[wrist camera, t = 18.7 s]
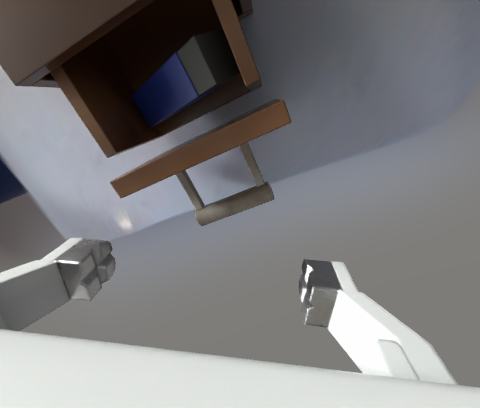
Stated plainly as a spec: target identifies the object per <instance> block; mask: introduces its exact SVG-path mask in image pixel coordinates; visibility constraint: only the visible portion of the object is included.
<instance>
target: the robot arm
mask: <svg viewBox="0 0 480 408" xmlns="http://www.w3.org/2000/svg"><path fill="white" fill-rule="evenodd" d="M111 251H112V246H111V243H110V242H108V241H103V240H94V239H84V238H70V239H69V240H67V241H66V242H65V243H63V244H62V245H60V246H59V247H58V248H56V249H55V250H54V251H52V252H51V253H49V254H48V255H47V256H45V257H44V258H42V259H41V260H35V261H32V262H29V263H26V264H24V265H21V266H18V267H15V268H12V269H9V270H6V271H3V272H1V273H0V408H480V388H477V387H468V386H461V385H458V384H457V382H456V381H455V379H454V378H453V376H452V375H451V373H450V372H449V370H448V369H447V367H446V366H445V364H444V363H443V361H442V360H441V358H440V357H439V355H438V354H437V353H436V351H435V350H434V348H433V347H432V345H431V344H430V343H429V342H427V341H426V340H425V339H423V338H422V337H420V336H419V335H418V334H416V333H415V332H414V331H413V330H411V329H410V328H409V327H408V326H406V325H405V324H403V323H402V322H401V321H399V320H398V319H397V318H396V317H394V316H393V315H392V314H390V313H389V312H387V311H386V310H385V309H384V308H382V307H381V306H380V305H378V304H377V303H376V302H374V301H373V300H372V299H370V298H369V297H368V296H366V295H365V294H364V293H360V292H358V290H357V288H356V286H355V284H354V282H353V280H352V278H351V276H350V274H349V272H348V270H347V268H346V266H345V264H344V263H343V262H334V261H316V260H304V261H303V264H302V270H303V274H302V275H301V276H300V280H299V297H300V301H301V302H302V303H303V305H302V314H303V320H304V324H305V325H312V326H320V327H327V328H328V330H329V331H330V332H331V334H332V335H333V336H334V337H335V339H336V340H337V341H338V342H339V344H340V345H341V346H342V347H343V349H344V350H345V351H346V352H347V354H348V355H349V356H350V357H351V359H352V360H353V361H354V362H355V363H356V365H357V366H358V367H359V368H360V370H361V371H362V372H363V373H354V372H347V371H339V370H330V369H323V368H315V367H306V366H298V365H290V364H282V363H274V362H265V361H257V360H250V359H241V358H233V357H225V356H217V355H209V354H201V353H193V352H184V351H176V350H168V349H159V348H152V347H144V346H136V345H127V344H119V343H111V342H103V341H95V340H86V339H79V338H71V337H63V336H62V337H61V336H53V335H46V334H38V333H30V332H21V330H22V329H24V328H25V327H27V326H29V325H30V324H32V323H33V322H35V321H37V320H38V319H40V318H41V317H43V316H45V315H46V314H48V313H50V312H51V311H53V310H55V309H56V308H58V307H60V306H61V305H63V304H64V303H66V302H68V301H69V300H70V299H76V300H88V301H91V300H92V299H93V297H94V296H95V295H96V294H97V293H98V292H99V291H100V289H101V288H102V286H101V284H102V283H104V282H106V281H107V280H109V279H110V277H111V276H112V275H113V272H114V270H115V258H114V257H113V256H112V255H111V254H110V253H111Z"/></svg>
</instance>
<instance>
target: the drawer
mask: <svg viewBox="0 0 480 408" xmlns="http://www.w3.org/2000/svg"><path fill="white" fill-rule="evenodd" d="M218 29H223V30H224V33H225V35H226V38H227V40H228V43H229V45H230V48H231V50H232V53H233V55H234V58H235V60H236V63H237V65H238V68H239V70H240V74H239V75H237V76H236V77H234V78H232V79H231V80H229V81H228V82H226V83H224V84H223V86H221V87H220V88H218V89H216V90H215V91H213V92H212V93H210V94H208V95H207V96H205V97H203V98H202V99H200V100H199V101H197V102H195V103H194V104H192V105H190V106H189V107H187V108H186V109H184V110H182V111H181V112H179V113H178V114H176V115H174V116H173V117H171V118H169V119H167V120H165V121H163V122H161V123H159V124H157V125H155V126H153V127H150V126H149V124H148V123H147V121H146V119H145V118H144V116H143V115H142V113H141V112H140V110H139V108H138V107H137V105H136V104H135V102H134V101H133V99H132V97H131V96H132V95H133V94H134V93H135V92H136V91H137V90H138V89H139V88H140V87H141V86H142V85H143V84H144V83H145V82H146V81H147V80H148V79H149V78H150V77H151V76H152V75H153V74H154V73H155V72H156V71H157V70H158V69H159V68H160V67H161V66H162V65H163V64H164V63H165V62H166V61H167V60H168V59H169V58H170V57H171V56H172V55H173V54H174V53H175V52H177V51H179V50H180V49H181V48H182V47H183V46H184V45H185V44H186V43H187V42H188V41H189V40H190V39H191V38H192V37H193V36H194V35H198V34H202V33H206V32H210V31H214V30H218ZM50 73H51V75H52V76H53V78H54V79H55V81H56V82H57V84H58V85H59V87H60V88H61V90H62V91H63V93H64V94H65V96H66V97H67V99H68V100H69V102H70V103H71V105H72V106H73V108H74V109H75V111H76V112H77V114H78V115H79V117H80V118H81V120H82V121H83V122H84V124H85V125H86V127H87V128H88V130H89V131H90V133H91V134H92V136H93V137H94V139H95V140H96V142H97V143H98V145H99V146H100V148H101V149H102V151H103V152H104V154H105V155H106V157H107V158H109V157H111V156H114V155H117V154H119V153H122V152H124V151H127V150H129V149H132V148H134V147H137V146H140V145H142V144H145V143H147V142H150V141H152V140H155V139H157V138H159V137H161V136H163V135H165V134H167V133H169V132H171V131H173V130H175V129H177V128H179V127H181V126H183V125H185V124H187V123H189V122H191V121H193V120H195V119H197V118H199V117H201V116H203V115H205V114H207V113H209V112H211V111H213V110H215V109H217V108H219V107H221V106H223V105H225V104H227V103H229V102H231V101H233V100H235V99H237V98H239V97H241V96H243V95H245V94H247V93H249V92H251V91H253V90H255V89H257V88H259V87H261V79H260V76H259V73H258V71H257V68H256V65H255V63H254V60H253V57H252V55H251V52H250V49H249V46H248V44H247V41H246V38H245V36H244V33H243V30H242V28H241V25H240V22H239V20H238V17H237V14H236V12H235V9H234V6H233V4H232V1H231V0H154V1H153V2H151V3H150V4H148V5H147V6H146V7H144V8H143V9H141V10H140V11H138V12H137V13H135V14H134V15H132V16H131V17H130V18H128V19H127V20H125V21H124V22H122V23H121V24H119V25H118V26H116V27H115V28H114V29H112V30H111V31H109V32H108V33H106V34H105V35H103V36H102V37H101V38H99V39H98V40H96V41H95V42H93V43H92V44H90V45H89V46H87V47H86V48H85V49H83V50H82V51H80V52H79V53H77V54H76V55H74V56H73V57H71V58H70V59H69V60H67V61H66V62H64V63H63V64H61V65H60V66H58V67H57V68H55V69H54V70H53V71H51V72H50ZM289 123H291V119H290V116H289V113H288V110H287V108H286V105H285V102H284V100H281V99H274V100H272V101H270V102H268V103H266V104H264V105H262V106H259V107H257V108H255V109H253V110H251V111H249V112H247V113H245V114H243V115H241V116H239V117H237V118H235V119H232V120H230V121H228V122H226V123H224V124H222V125H220V126H218V127H216V128H214V129H212V130H210V131H208V132H205V133H203V134H201V135H199V136H197V137H195V138H193V139H191V140H189V141H187V142H185V143H183V144H181V145H179V146H176V147H174V148H172V149H170V150H168V151H166V152H164V153H162V154H160V155H158V156H156V157H154V158H153V159H151V160H149V161H147V162H145V163H144V164H142V165H140V166H138V167H136V168H135V169H133V170H131V171H129V172H127V173H126V174H124V175H122V176H120V177H118V178H117V179H115V180H113V181H111V182H110V184H111V185H112V187H113V188H114V189H115V191H116V192H117V194H118V195H119V197H120V198H123V197H126V196H128V195H130V194H132V193H135V192H137V191H139V190H141V189H144V188H146V187H148V186H150V185H152V184H155V183H157V182H159V181H161V180H164V179H166V178H168V177H170V176H173V175H175V174H176V176H177V177H178V179H179V181H180V183H181V184H182V186H183V188H184V189H185V191H186V193H187V195H188V196H189V198H190V200H191V202H192V203H193V205H194V207H195V209H196V210H195V217H196V220H197V222H198V223H199V224H200V225H201V226H204V225H206V224H209V223H212V222H215V221H217V220H220V219H223V218H225V217H228V216H231V215H234V214H236V213H239V212H242V211H244V210H247V209H250V208H253V207H255V206H258V205H261V204H263V203H266V202H269V201H271V200H274V195H273V192H272V189H271V187H270V185H269V183H268V182H265V183H264V179H263V177H262V174H261V172H260V170H259V167H258V165H257V163H256V160H255V158H254V156H253V153H252V151H251V149H250V146H249V144H248V142H249V141H251V140H253V139H255V138H258V137H260V136H262V135H264V134H266V133H269V132H271V131H273V130H275V129H278V128H280V127H282V126H284V125H287V124H289ZM237 146H239V148H240V150H241V153H242V155H243V157H244V159H245V162H246V164H247V166H248V168H249V170H250V173H251V175H252V177H253V179H254V182H255V184H256V186H254V187H252V188H249V189H247V190H244V191H242V192H239V193H237V194H234V195H231V196H229V197H226V198H224V199H221V200H219V201H216V202H214V203H211V204H208V205H206V206H204V203H203V201H202V199H201V198H200V196H199V194H198V192H197V190H196V189H195V187H194V185H193V183H192V181H191V180H190V178H189V176H188V174H187V172H186V171H185V170H186V169H188V168H190V167H193V166H195V165H197V164H199V163H202V162H204V161H206V160H208V159H211V158H213V157H215V156H217V155H220V154H222V153H224V152H226V151H228V150H231V149H233V148H235V147H237Z"/></svg>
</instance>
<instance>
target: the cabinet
mask: <svg viewBox="0 0 480 408" xmlns="http://www.w3.org/2000/svg"><path fill="white" fill-rule="evenodd" d="M153 1H154V0H0V65H1V67H2V68H3V70H4V71H5V72H6V74H7V75H8V76H9V78H10V79H11V80H12V82H13V83H14V85H15V86H34V87H56V88H60V87H59V85H58V84H57V82H56V81H55V79H54V78H53V76H52V75H51V73H50V72H51V71H53V70H54V69H55V68H57V67H58V66H60V65H61V64H63V63H64V62H66V61H67V60H69V59H70V58H71V57H73V56H74V55H76V54H77V53H79V52H80V51H82V50H83V49H85V48H86V47H87V46H89V45H90V44H92V43H93V42H95V41H96V40H98V39H99V38H101V37H102V36H103V35H105V34H106V33H108V32H109V31H111V30H112V29H114V28H115V27H116V26H118V25H119V24H121V23H122V22H124V21H125V20H127V19H128V18H130V17H131V16H132V15H134V14H135V13H137V12H138V11H140V10H141V9H143V8H144V7H146V6H147V5H148V4H150V3H151V2H153ZM231 1H232V4H233V6H234V9H235V12H236V14H237V17H238V20H240V19H242V18H244V17H245V16H247V15H249V14H250V13H252V12H253V7H252V0H231Z"/></svg>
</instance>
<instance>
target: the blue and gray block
mask: <svg viewBox="0 0 480 408" xmlns="http://www.w3.org/2000/svg"><path fill="white" fill-rule="evenodd" d="M239 74H240V70H239V68H238V65H237V63H236V60H235V58H234V55H233V53H232V50H231V48H230V45H229V43H228V40H227V38H226V35H225V33H224V30H223V29H218V30H214V31H210V32H206V33H202V34H198V35H194V36H193V37H192V38H191V39H190V40H189V41H188V42H187V43H186V44H185V45H184V46H183V47H182V48H181V49H180V50H179V51H177V52H175V53H174V54H173V55H172V56H171V57H170V58H169V59H168V60H167V61H166V62H165V63H164V64H163V65H162V66H161V67H160V68H159V69H158V70H157V71H156V72H155V73H154V74H153V75H152V76H151V77H150V78H149V79H148V80H147V81H146V82H145V83H144V84H143V85H142V86H141V87H140V88H139V89H138V90H137V91H136V92H135V93H134V94H133V95H132V96H131V97H132V99H133V101H134V102H135V104H136V105H137V107H138V108H139V110H140V112H141V113H142V115H143V116H144V118H145V119H146V121H147V123H148V124H149V126H150V127H153V126H155V125H157V124H159V123H161V122H163V121H165V120H167V119H169V118H171V117H173V116H174V115H176V114H178V113H179V112H181V111H182V110H184V109H186V108H187V107H189V106H190V105H192V104H194V103H195V102H197V101H199V100H200V99H202V98H203V97H205V96H207V95H208V94H210V93H212V92H213V91H215V90H216V89H218V88H220V87H221V86H223V84H224V83H226V82H228V81H229V80H231V79H232V78H234V77H236V76H237V75H239Z"/></svg>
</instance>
